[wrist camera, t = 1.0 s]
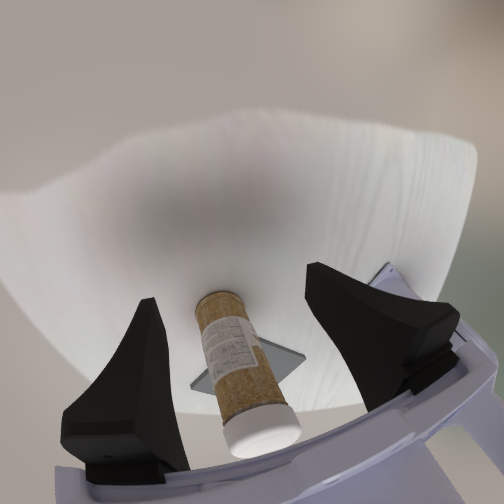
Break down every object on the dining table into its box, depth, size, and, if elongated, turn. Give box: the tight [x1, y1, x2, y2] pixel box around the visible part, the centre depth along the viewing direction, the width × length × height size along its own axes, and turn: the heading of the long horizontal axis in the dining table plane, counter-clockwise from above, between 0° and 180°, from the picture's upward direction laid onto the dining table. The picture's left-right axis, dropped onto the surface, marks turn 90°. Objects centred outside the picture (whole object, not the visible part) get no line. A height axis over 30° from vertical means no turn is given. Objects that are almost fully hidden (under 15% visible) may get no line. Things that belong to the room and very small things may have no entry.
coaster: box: [190, 337, 306, 395], centre depth 30 cm, size 10×10×1 cm
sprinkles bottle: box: [195, 292, 302, 458], centre depth 19 cm, size 5×5×14 cm
